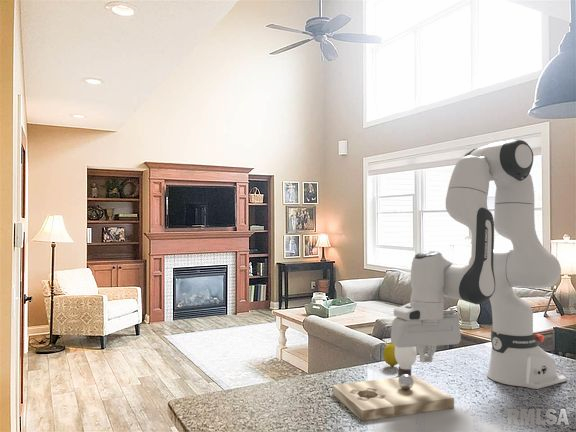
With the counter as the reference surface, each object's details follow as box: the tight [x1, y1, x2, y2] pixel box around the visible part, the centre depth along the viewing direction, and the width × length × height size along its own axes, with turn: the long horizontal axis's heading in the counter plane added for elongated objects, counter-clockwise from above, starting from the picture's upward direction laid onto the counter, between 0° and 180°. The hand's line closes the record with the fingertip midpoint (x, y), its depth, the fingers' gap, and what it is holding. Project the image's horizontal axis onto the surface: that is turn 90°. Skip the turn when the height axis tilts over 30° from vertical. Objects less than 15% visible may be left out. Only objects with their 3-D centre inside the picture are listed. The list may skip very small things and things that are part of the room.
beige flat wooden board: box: [332, 375, 455, 422], centre depth 124 cm, size 26×18×2 cm
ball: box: [398, 374, 414, 390], centre depth 125 cm, size 4×4×4 cm
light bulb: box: [394, 346, 418, 376], centre depth 145 cm, size 7×7×11 cm
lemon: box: [383, 341, 399, 368], centre depth 152 cm, size 6×6×8 cm
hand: (426, 361), depth 127 cm, fingers closed
